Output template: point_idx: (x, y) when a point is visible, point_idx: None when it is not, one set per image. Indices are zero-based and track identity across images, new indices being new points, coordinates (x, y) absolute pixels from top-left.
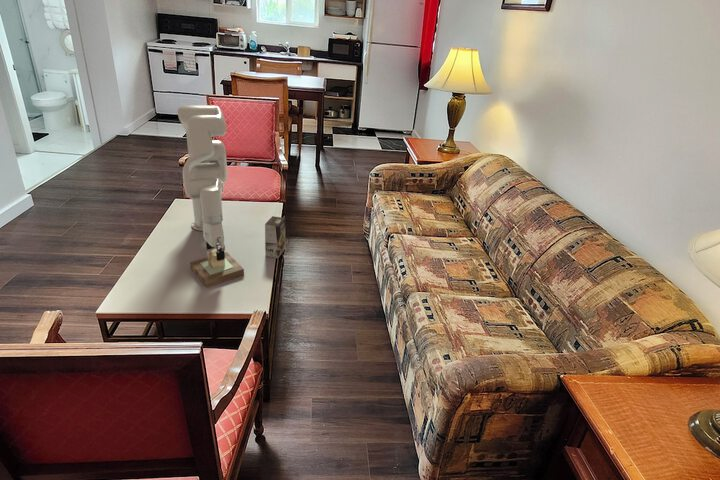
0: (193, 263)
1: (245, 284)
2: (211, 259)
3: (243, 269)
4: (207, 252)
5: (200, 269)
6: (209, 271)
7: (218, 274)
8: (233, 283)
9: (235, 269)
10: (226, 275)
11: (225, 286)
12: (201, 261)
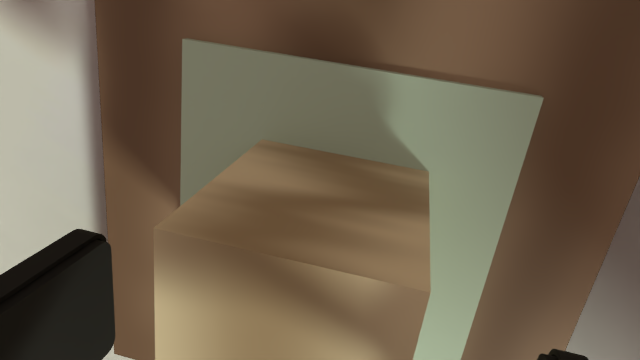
0: (629, 16)
1: (32, 232)
2: (245, 201)
3: (117, 347)
4: (410, 274)
5: (388, 9)
6: (249, 74)
7: (145, 124)
8: (87, 175)
9: (143, 302)
10: (112, 181)
11: (76, 95)
12: (573, 143)
